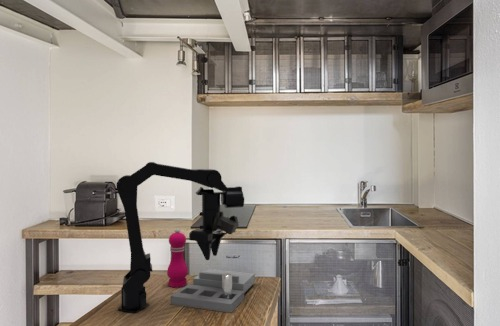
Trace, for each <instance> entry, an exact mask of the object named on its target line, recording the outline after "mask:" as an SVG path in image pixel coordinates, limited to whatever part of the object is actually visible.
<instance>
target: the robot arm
mask: <svg viewBox="0 0 500 326" xmlns="http://www.w3.org/2000/svg"><path fill="white" fill-rule="evenodd" d="M153 176H157V177H158V176H159V177H164V178H171V179H176V180H183V181H190V182H193V183H196V184H199V185H202V186H205V187H208V188H210V189H207V188H206V189H204V187H202V186H200V187H199V189H198V190H197V191H196V192H195V194H196V195H197V196H201V201H202V202H201V212H199V216H201V223H202V224H200V225H199V228H196V229H193V230H191V231H190V232H188V233H189V234H188V240H189V241H195V242H196V243H197V245H198V247H199V249H200V250H201V252H202V255H203V256H204V259H205V261H209V260H210V258H211V254H212V256H214V257H216V256H217V255H218V251H219V248H220V245H221V242H222V239H223V238H224V237H225V236H226V235H227V234H228V235H232V234H234V233H236V230H237V228H238V227H239V225H240V224H239V221H238V216H236V215H232V216H230V217H226V216H224V212H223V211H222V210H221V206H224V208H225V209H232V208H233V209H237V208H243V207H244V206H245V196H244V193H243V187H242V186H234V187H233V186H231V187H228V186H227V185H226V184H225V183H224V181H223V179H222V174H221V173H220V172H219V171H218V170H217V169H212V168H211V169H210V168H206V169H204V168H199V169H197V168H196V169H192V168H185V167H179V166H174V165H167V164H162V163H157V162H154V161H149V162H147V163H146V164H145V165H144V166H142V167H141V168H140V169H139V168H138V170H137V171H135V172H134V173H132V174H131V175H130V174H129V175H128V174H125V175H122V176H121V177H120V178H119V179H117V182H116V190H117V193H118V195H119V199H120V201H121V204H122V206H123V209H124V211H123V212H124V215H125V222H126V230H127V235H128V236H127V238H128V241H129V247H130V248H129V251H130V270H129V271H128V272H127V273H126V274H125V275H124V276H123V279H122V280H123V281H122V286H121V290H120V291H121V293H120V294H121V296H120V298H121V299H120V301H121V303H120V304H121V306H119V307H118V308H117V310H118V311H122V312H128V313H134V314H135V313H138V312H139V311H141V310H143V309H144V308H146V307H148V306H149V302H147V291H146V285H145V283H147V282H148V281H149V279H150V278H151V272H153V264H152V262H151V253H150V252H149V253H146V251H145V249H144V246H143V245H144V244H143V239H142V238H143V237H142V233H141V231H142V230H141V225H140V219H139V218H140V217H139V211H138V204H137V203H138V187H139V186H140V185H142V183H144V182H146V181H147V180H148V179H150V178H151V177H153ZM214 189H215V190H217V191H214ZM211 252H212V253H211Z"/></svg>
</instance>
